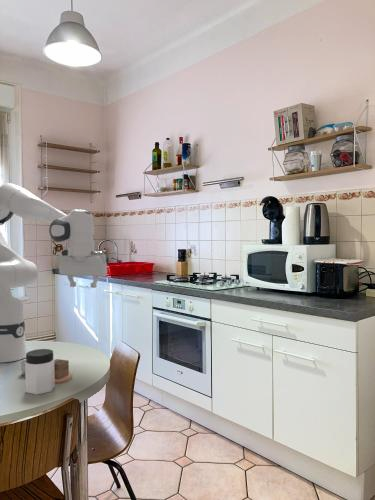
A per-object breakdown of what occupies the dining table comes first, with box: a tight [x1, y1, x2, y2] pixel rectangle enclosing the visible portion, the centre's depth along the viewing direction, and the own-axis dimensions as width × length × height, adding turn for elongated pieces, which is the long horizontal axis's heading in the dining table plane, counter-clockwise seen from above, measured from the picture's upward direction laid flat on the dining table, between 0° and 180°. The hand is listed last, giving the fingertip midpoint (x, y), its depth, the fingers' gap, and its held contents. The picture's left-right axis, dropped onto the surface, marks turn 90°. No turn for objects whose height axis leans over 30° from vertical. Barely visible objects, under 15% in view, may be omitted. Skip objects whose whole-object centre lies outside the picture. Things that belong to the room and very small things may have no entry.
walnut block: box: [54, 358, 70, 379], centre depth 141 cm, size 5×5×5 cm
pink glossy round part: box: [55, 372, 73, 384], centre depth 141 cm, size 9×9×1 cm
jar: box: [24, 348, 56, 396], centre depth 130 cm, size 9×8×12 cm
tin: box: [20, 359, 26, 377], centre depth 145 cm, size 5×5×5 cm
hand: (83, 287), depth 158 cm, fingers open, 8 cm apart
